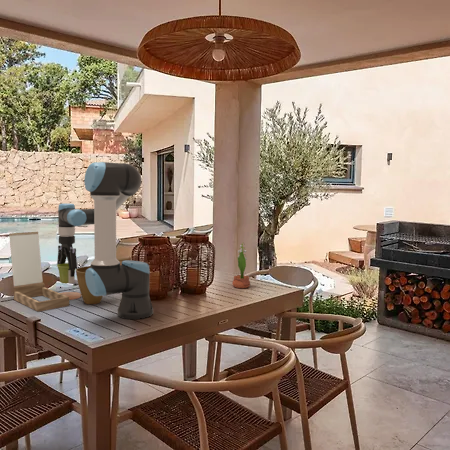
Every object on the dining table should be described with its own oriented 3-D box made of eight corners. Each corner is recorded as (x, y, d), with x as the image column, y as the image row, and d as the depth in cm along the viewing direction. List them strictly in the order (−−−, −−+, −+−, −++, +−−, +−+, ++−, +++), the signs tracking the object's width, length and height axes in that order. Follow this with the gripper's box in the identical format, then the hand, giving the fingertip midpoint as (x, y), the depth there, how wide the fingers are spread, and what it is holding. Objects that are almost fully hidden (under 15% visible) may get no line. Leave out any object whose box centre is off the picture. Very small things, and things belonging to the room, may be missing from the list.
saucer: (86, 297, 222) (86, 295, 222) (60, 301, 212) (60, 300, 212) (73, 292, 231) (73, 290, 231) (48, 296, 221) (48, 294, 221)
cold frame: (69, 305, 206) (69, 292, 206) (38, 311, 196) (37, 298, 195) (43, 294, 224) (43, 282, 224) (13, 299, 214) (13, 287, 214)
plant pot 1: (80, 280, 225) (80, 263, 224) (72, 284, 216) (72, 267, 215) (62, 279, 226) (62, 262, 225) (53, 284, 217) (53, 266, 216)
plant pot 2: (69, 303, 210) (68, 269, 208) (92, 296, 223) (92, 264, 221) (93, 308, 203) (92, 273, 201) (115, 301, 216) (115, 268, 214)
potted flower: (230, 284, 258) (231, 240, 255) (248, 284, 259) (249, 241, 256) (233, 289, 246) (234, 243, 243) (251, 289, 247) (252, 243, 244)
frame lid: (38, 231, 224) (37, 231, 225) (9, 233, 214) (8, 233, 215) (42, 282, 224) (41, 282, 224) (14, 286, 214) (13, 286, 214)
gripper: (84, 237, 214) (85, 284, 216) (63, 232, 229) (64, 276, 231) (70, 238, 209) (70, 286, 211) (49, 233, 223) (49, 278, 226)
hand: (67, 281), depth 221 cm, fingers closed on plant pot 1, 8 cm apart
